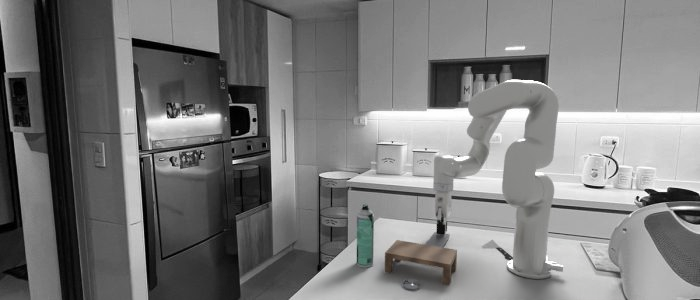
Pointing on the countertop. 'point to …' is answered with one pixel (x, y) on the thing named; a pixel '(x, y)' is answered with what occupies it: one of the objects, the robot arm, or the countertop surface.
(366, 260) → the spray can
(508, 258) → the cleaver
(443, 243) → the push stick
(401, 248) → the walnut bench
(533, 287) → the countertop surface
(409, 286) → the disc
